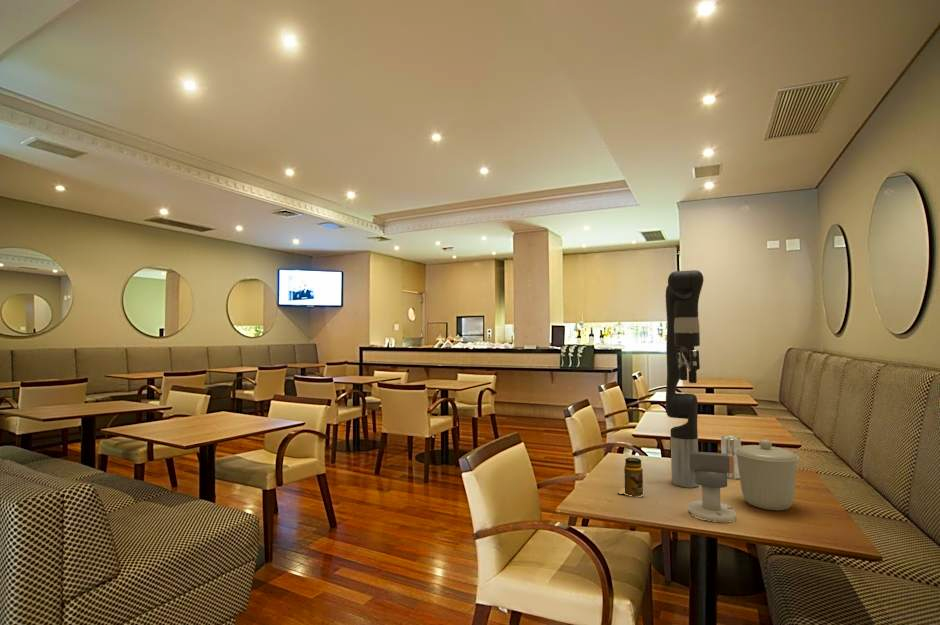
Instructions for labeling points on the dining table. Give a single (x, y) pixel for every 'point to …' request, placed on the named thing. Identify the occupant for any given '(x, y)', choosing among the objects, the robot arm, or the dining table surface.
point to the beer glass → (731, 452)
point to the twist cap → (711, 468)
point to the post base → (712, 514)
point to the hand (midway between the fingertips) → (688, 381)
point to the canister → (767, 475)
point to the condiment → (633, 477)
